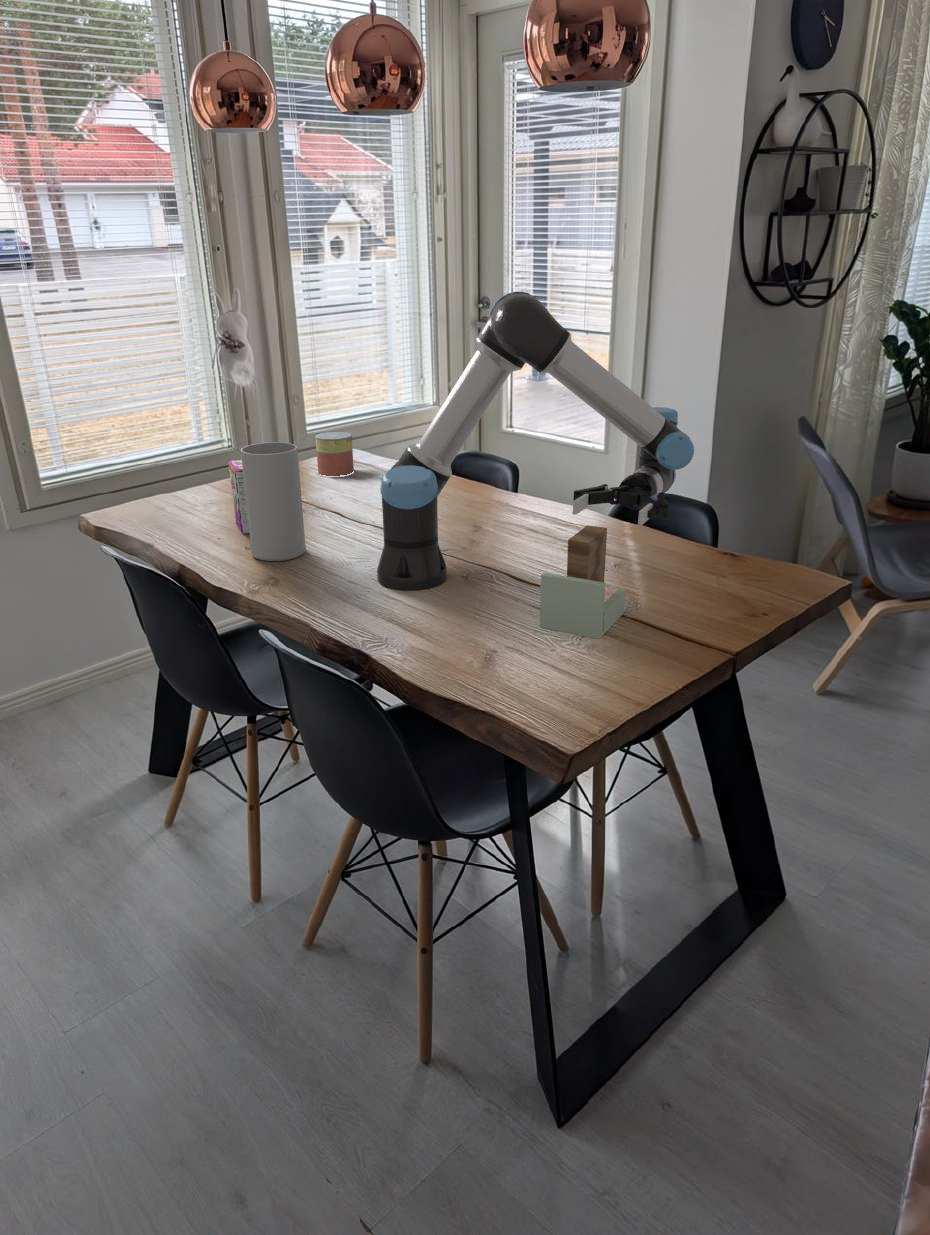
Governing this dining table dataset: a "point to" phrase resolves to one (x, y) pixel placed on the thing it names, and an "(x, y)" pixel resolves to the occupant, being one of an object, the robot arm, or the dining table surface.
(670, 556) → the dining table surface
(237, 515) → the candy bar box
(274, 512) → the cylinder vase
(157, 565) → the dining table surface
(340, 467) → the canned food
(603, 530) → the walnut block
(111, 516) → the dining table surface
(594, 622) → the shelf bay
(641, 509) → the robot arm
